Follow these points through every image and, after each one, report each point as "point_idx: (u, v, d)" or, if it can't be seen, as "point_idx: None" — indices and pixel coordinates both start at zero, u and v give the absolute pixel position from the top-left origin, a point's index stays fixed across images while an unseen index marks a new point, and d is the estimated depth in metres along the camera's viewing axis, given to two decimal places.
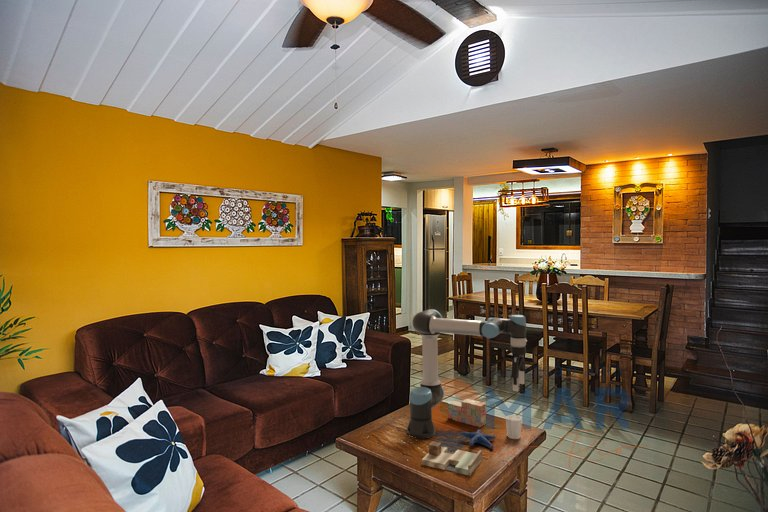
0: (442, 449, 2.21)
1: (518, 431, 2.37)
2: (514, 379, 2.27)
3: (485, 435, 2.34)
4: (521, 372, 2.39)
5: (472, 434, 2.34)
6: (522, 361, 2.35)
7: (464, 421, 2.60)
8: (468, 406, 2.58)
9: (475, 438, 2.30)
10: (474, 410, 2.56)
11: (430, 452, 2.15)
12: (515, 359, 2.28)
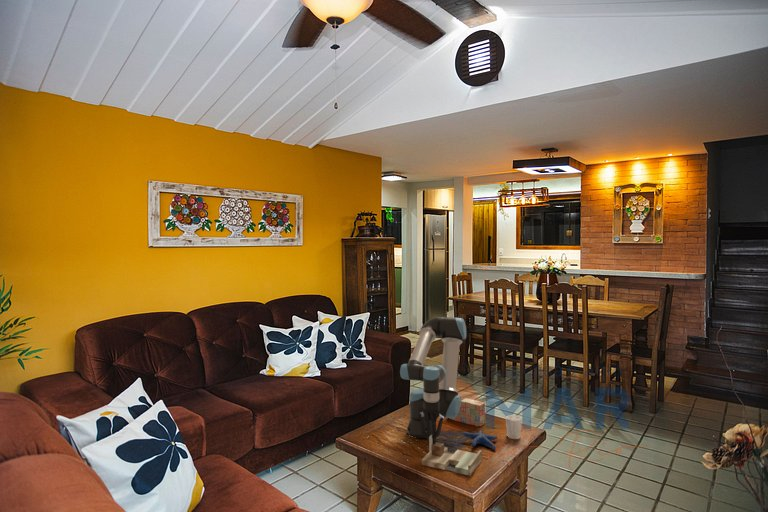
0: None
1: (518, 431, 2.37)
2: None
3: (487, 436, 2.33)
4: None
5: (474, 435, 2.33)
6: (431, 419, 2.15)
7: (463, 420, 2.61)
8: (467, 406, 2.59)
9: (477, 439, 2.29)
10: (473, 410, 2.56)
11: (433, 453, 2.15)
12: None
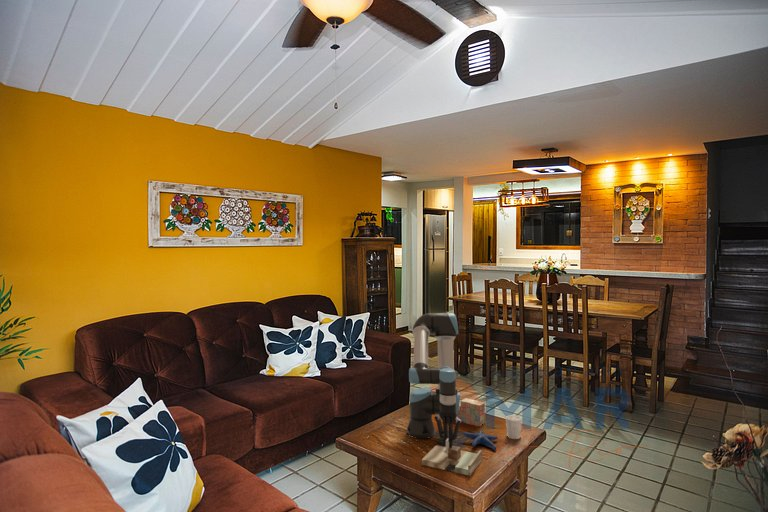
0: (442, 449, 2.21)
1: (518, 431, 2.37)
2: None
3: (488, 436, 2.33)
4: None
5: (475, 435, 2.33)
6: (448, 422, 2.11)
7: (463, 420, 2.61)
8: (467, 406, 2.59)
9: (478, 439, 2.29)
10: (473, 409, 2.57)
11: (449, 456, 2.10)
12: None
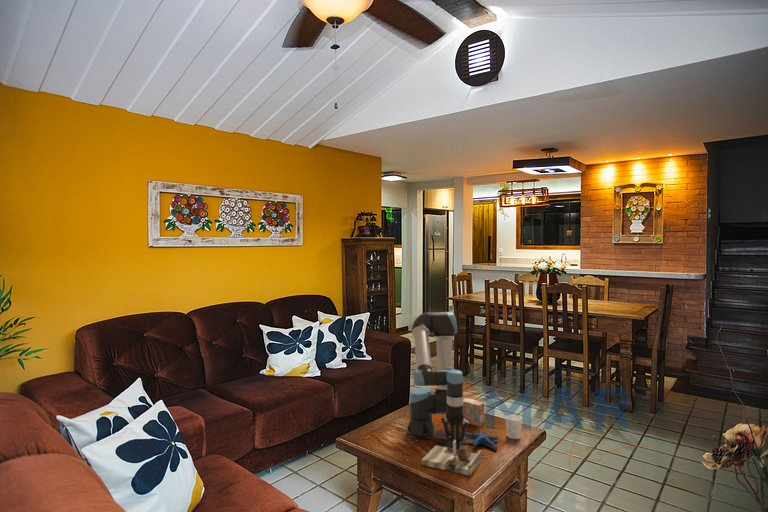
0: (442, 449, 2.21)
1: (518, 431, 2.37)
2: None
3: (488, 436, 2.33)
4: None
5: (475, 435, 2.33)
6: (455, 424, 2.10)
7: None
8: (467, 406, 2.59)
9: (478, 439, 2.28)
10: (473, 409, 2.57)
11: (460, 458, 2.08)
12: None
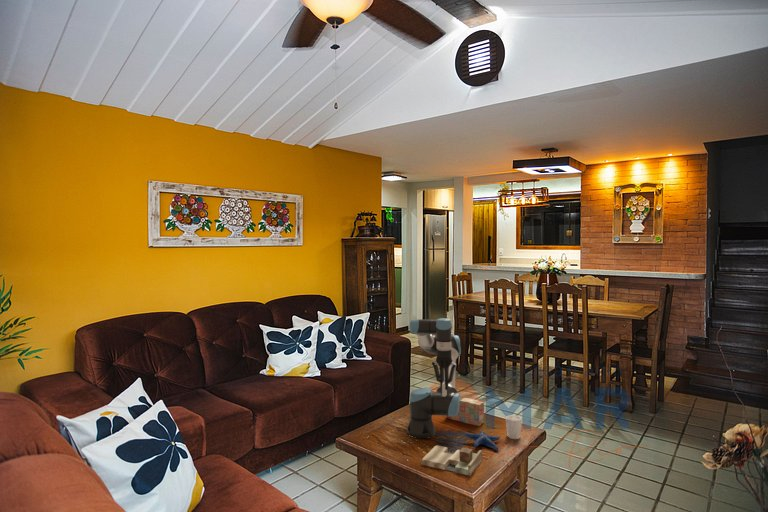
0: (442, 449, 2.21)
1: (518, 431, 2.37)
2: None
3: (489, 436, 2.32)
4: None
5: (476, 435, 2.32)
6: (444, 366, 2.31)
7: (462, 420, 2.62)
8: (466, 405, 2.60)
9: (480, 439, 2.28)
10: (472, 409, 2.57)
11: (461, 459, 2.08)
12: None
